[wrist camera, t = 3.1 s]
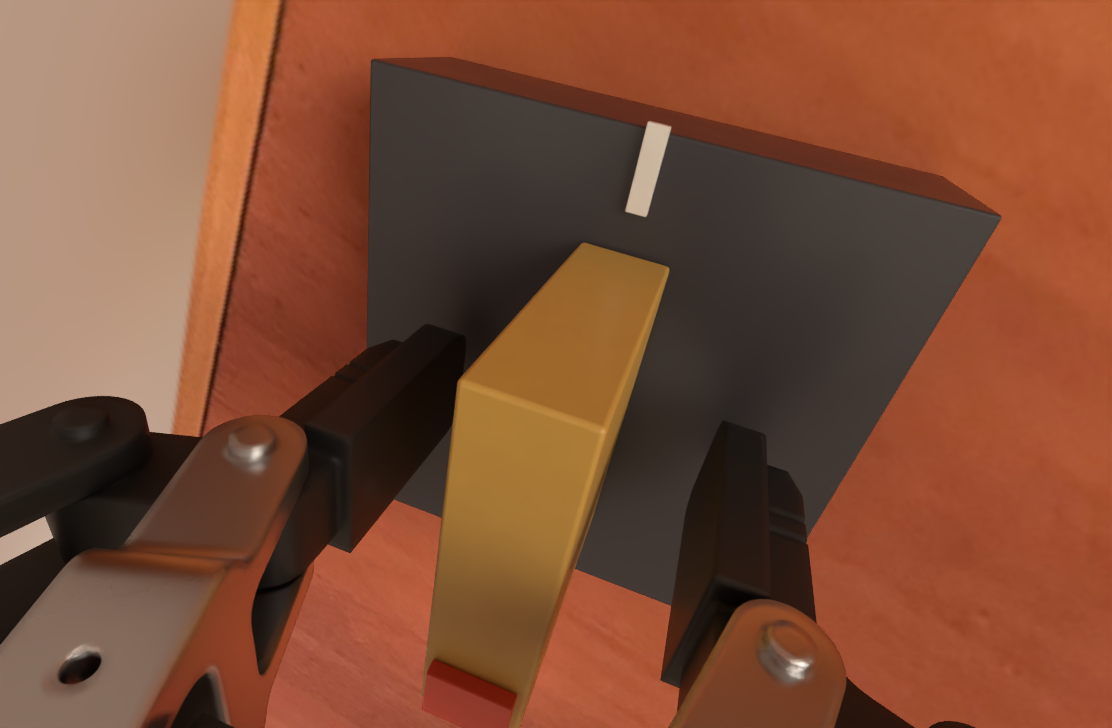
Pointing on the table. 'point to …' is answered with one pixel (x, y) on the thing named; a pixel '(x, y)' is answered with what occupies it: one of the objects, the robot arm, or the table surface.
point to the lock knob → (530, 479)
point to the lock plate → (692, 285)
